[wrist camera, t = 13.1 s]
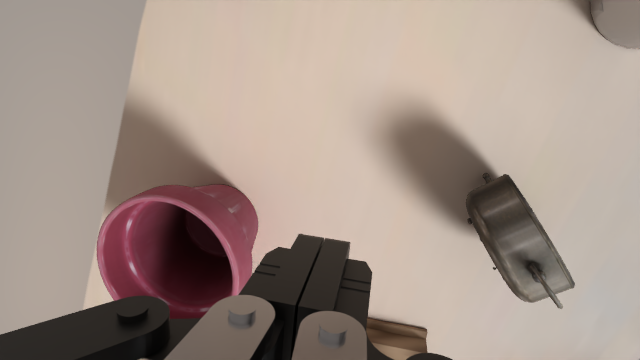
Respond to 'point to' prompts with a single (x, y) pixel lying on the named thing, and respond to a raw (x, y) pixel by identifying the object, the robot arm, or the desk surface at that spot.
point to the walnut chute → (396, 339)
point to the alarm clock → (517, 241)
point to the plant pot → (179, 246)
